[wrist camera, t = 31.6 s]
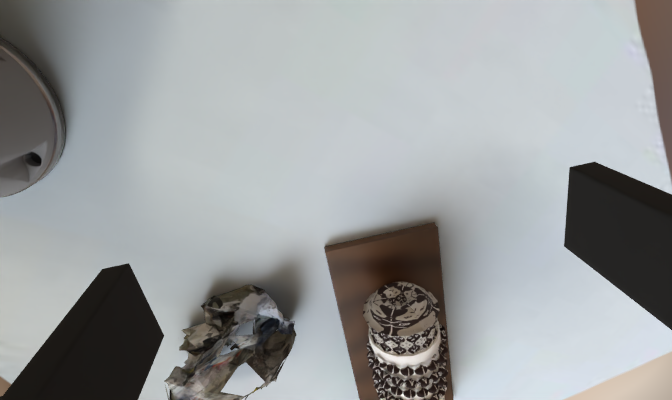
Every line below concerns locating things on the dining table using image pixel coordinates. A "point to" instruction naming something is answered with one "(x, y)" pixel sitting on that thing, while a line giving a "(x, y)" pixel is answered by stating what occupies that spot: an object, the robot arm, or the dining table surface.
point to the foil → (219, 330)
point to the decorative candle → (406, 343)
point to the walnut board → (376, 271)
